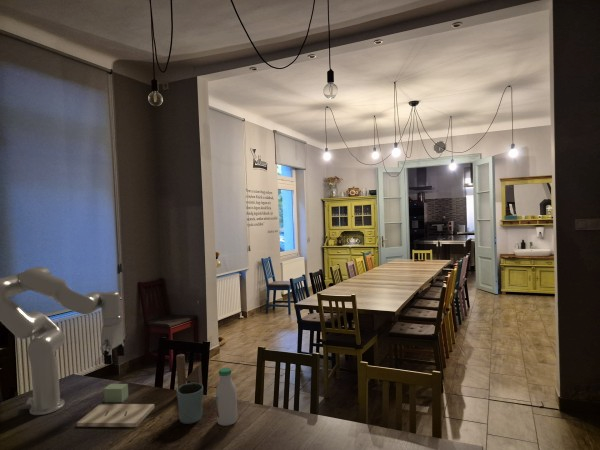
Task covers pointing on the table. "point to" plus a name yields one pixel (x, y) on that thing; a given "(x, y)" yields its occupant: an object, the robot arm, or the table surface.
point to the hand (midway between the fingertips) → (114, 359)
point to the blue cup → (190, 402)
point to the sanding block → (116, 393)
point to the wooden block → (181, 373)
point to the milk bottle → (226, 399)
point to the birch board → (116, 415)
